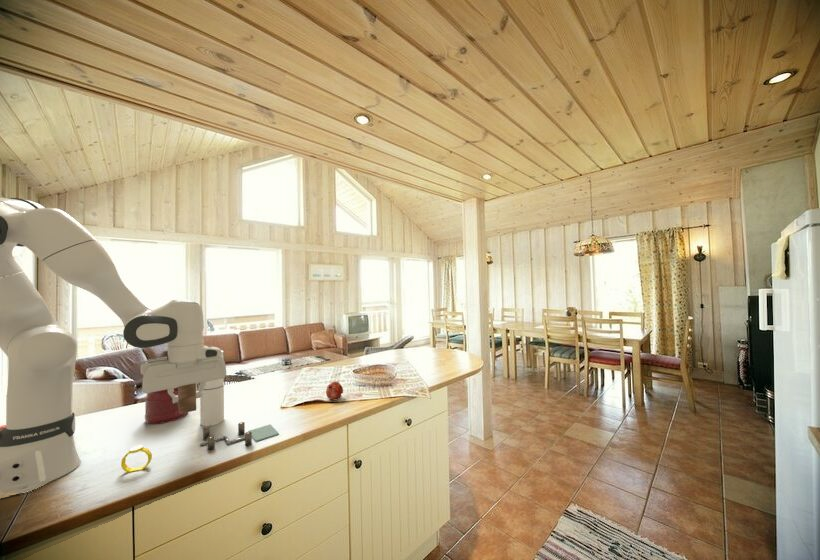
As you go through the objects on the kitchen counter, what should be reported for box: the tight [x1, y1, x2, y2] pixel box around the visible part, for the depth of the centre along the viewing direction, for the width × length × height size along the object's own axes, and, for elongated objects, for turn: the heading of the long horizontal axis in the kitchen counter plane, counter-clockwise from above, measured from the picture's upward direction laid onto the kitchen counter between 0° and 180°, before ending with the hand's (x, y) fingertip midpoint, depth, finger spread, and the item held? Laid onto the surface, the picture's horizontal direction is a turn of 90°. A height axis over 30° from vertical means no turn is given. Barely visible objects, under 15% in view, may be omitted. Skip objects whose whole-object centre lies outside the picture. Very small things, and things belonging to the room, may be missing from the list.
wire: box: [199, 435, 245, 447], centre depth 95 cm, size 13×6×1 cm, turn 131°
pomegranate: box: [325, 381, 344, 400], centre depth 130 cm, size 7×7×10 cm
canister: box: [144, 387, 189, 425], centre depth 114 cm, size 13×13×18 cm
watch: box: [120, 444, 153, 473], centre depth 80 cm, size 6×3×6 cm, turn 113°
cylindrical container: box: [199, 349, 225, 427], centre depth 110 cm, size 7×7×25 cm
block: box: [178, 383, 197, 414], centre depth 90 cm, size 4×4×8 cm
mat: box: [247, 424, 280, 443], centre depth 99 cm, size 7×9×1 cm
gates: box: [202, 421, 253, 451], centre depth 95 cm, size 11×16×4 cm
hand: (187, 399), depth 90 cm, fingers closed on block, 4 cm apart
